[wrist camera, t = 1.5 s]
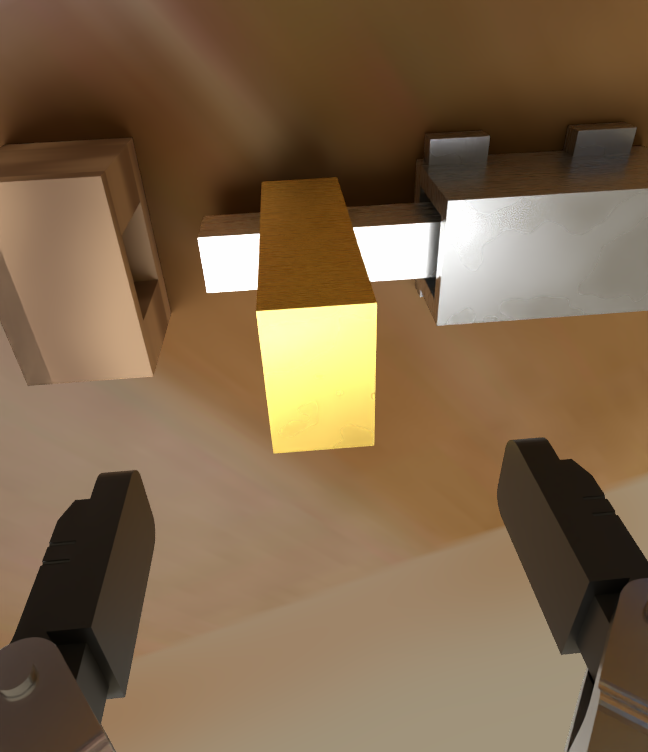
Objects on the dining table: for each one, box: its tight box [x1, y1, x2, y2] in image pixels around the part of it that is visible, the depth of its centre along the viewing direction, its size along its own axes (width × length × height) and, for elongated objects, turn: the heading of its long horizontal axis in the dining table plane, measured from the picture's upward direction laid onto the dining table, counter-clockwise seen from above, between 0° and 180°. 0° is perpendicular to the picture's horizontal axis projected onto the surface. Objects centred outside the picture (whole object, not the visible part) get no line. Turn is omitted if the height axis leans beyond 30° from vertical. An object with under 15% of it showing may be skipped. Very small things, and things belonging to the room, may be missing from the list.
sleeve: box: [414, 122, 648, 326], centre depth 24 cm, size 10×7×5 cm
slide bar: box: [198, 177, 441, 453], centre depth 20 cm, size 16×5×11 cm, turn 92°
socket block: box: [0, 137, 171, 386], centre depth 23 cm, size 5×8×5 cm, turn 2°
